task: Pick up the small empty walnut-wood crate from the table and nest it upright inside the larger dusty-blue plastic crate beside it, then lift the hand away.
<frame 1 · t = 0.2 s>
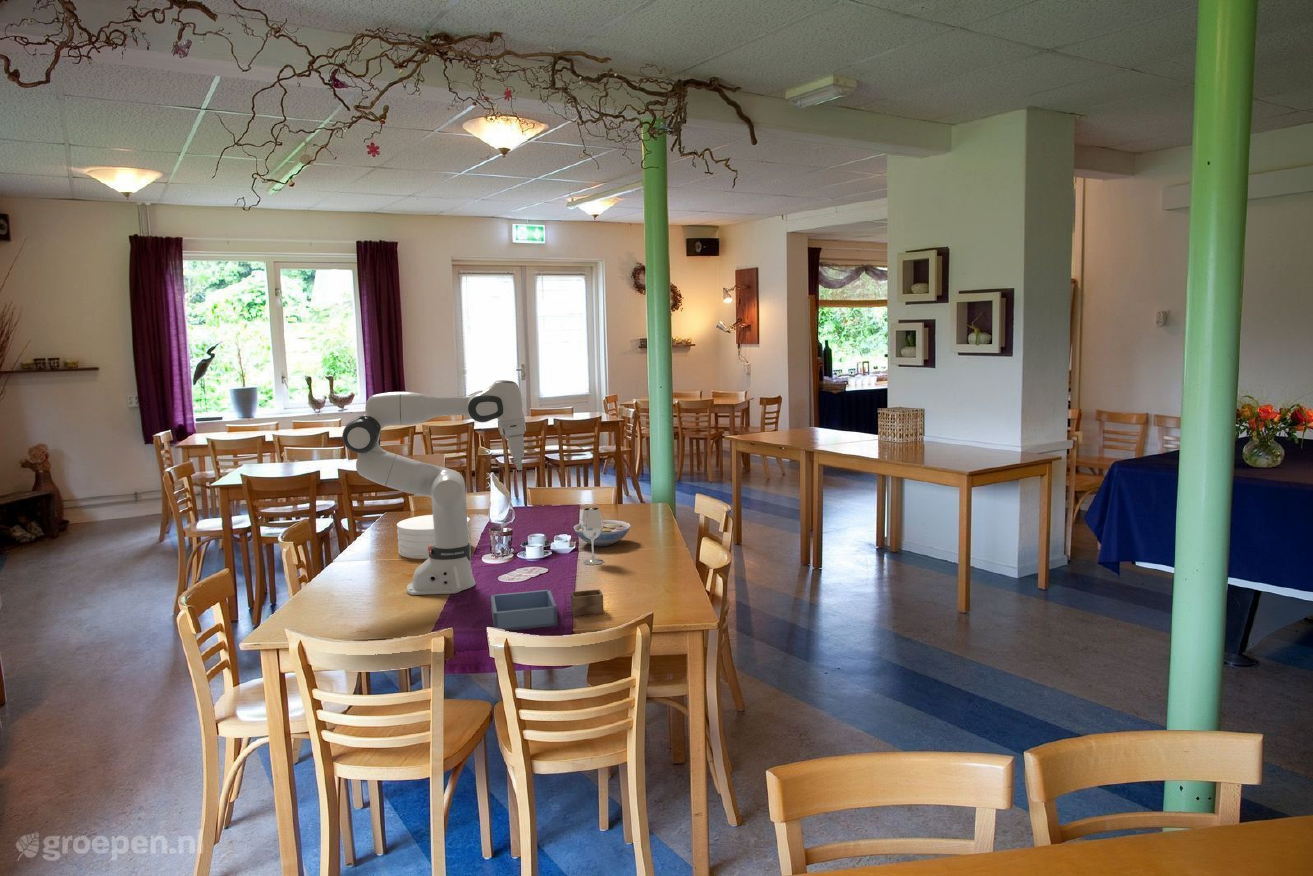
hand: (518, 467, 294), 39 cm above the table, tool pointing down, fingers open, 8 cm apart
plate stack: (435, 550, 346), on the table
walnut crate: (587, 612, 262), on the table
blue crate: (523, 619, 258), on the table
ramen bowl: (602, 544, 347), on the table
wineglass: (593, 562, 320), on the table
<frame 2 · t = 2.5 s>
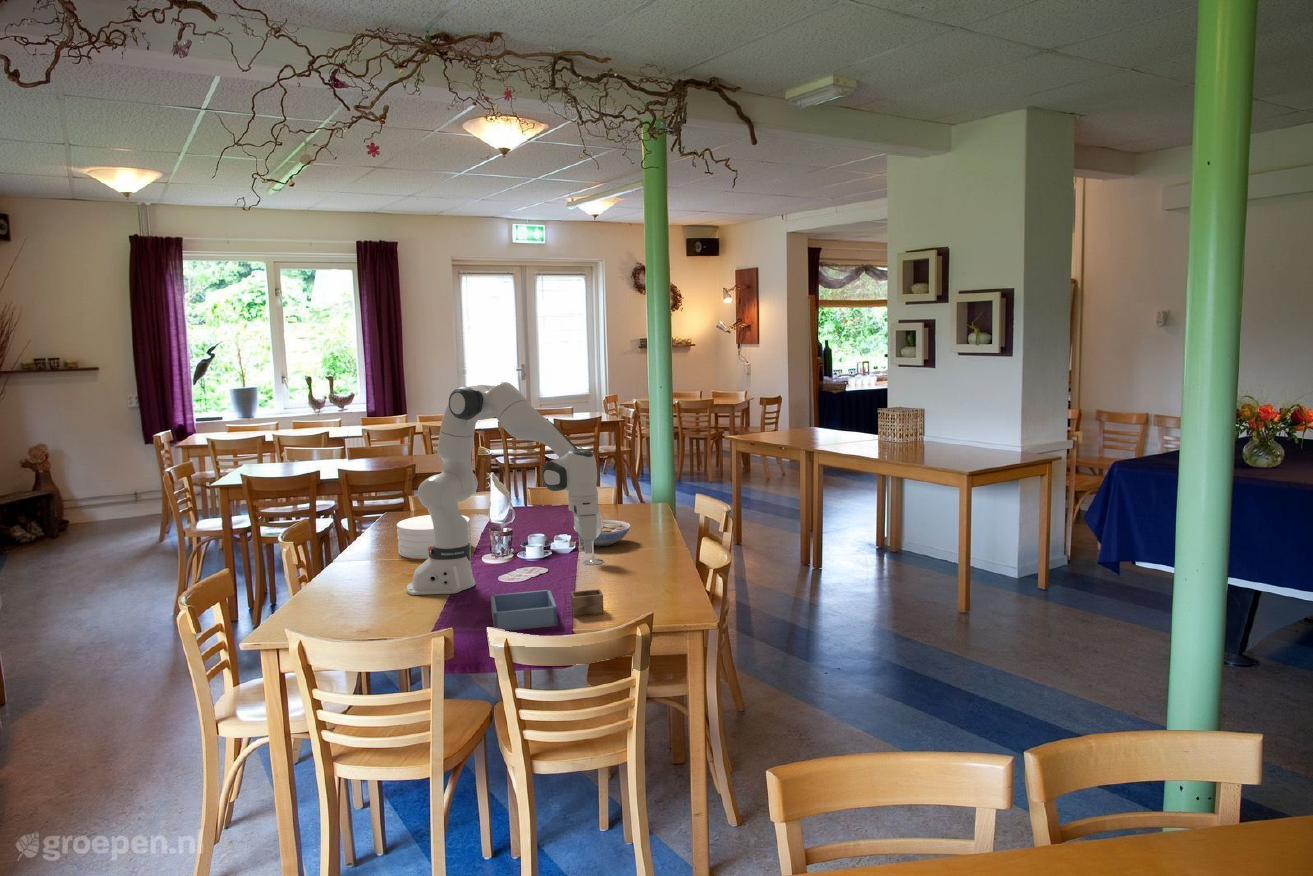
hand: (585, 549, 260), 20 cm above the table, tool pointing down, fingers open, 8 cm apart
nothing on the table moved.
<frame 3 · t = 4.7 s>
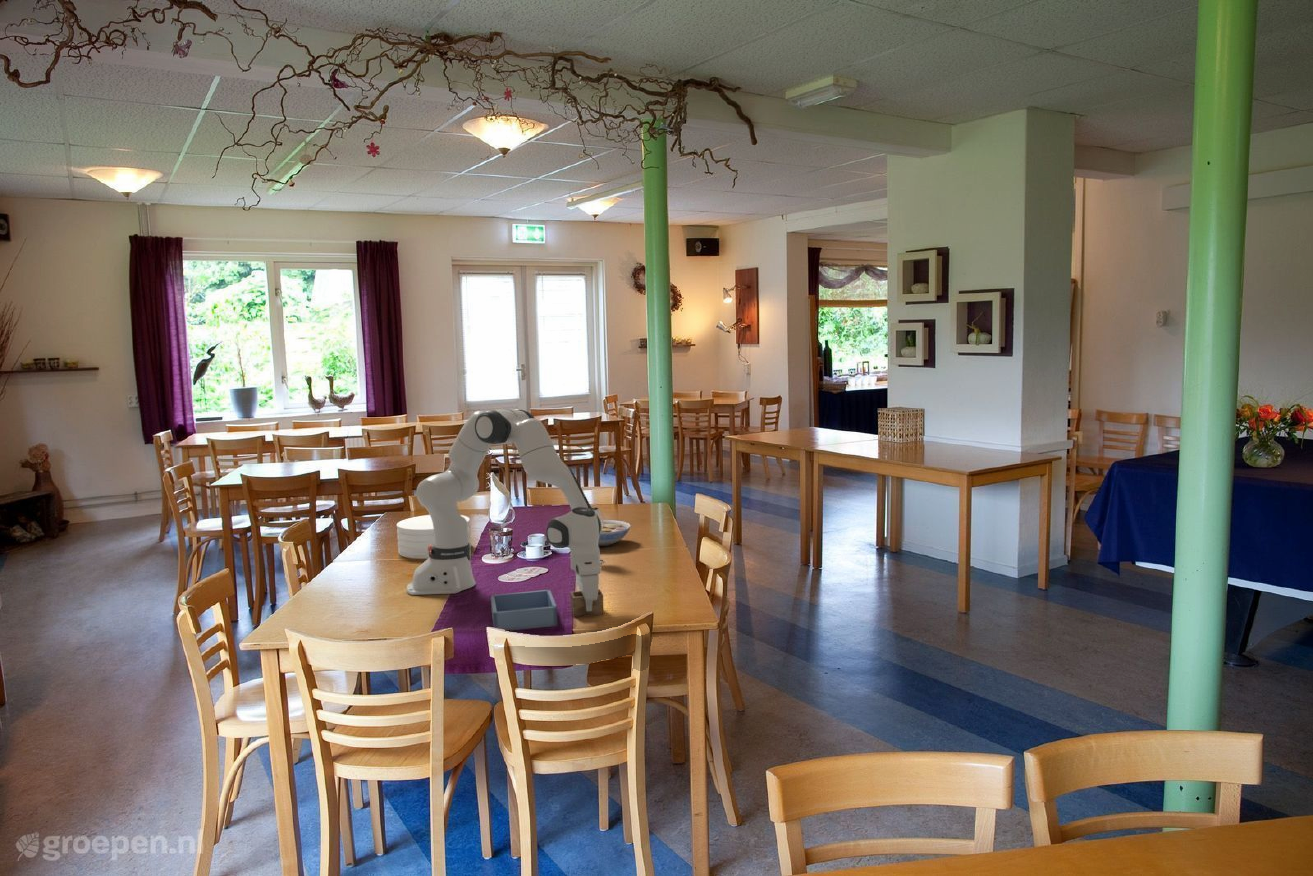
hand: (587, 606, 262), 2 cm above the table, tool pointing down, fingers closed on walnut crate, 6 cm apart
walnut crate: (587, 612, 262), on the table, touching gripper
everything else where it was.
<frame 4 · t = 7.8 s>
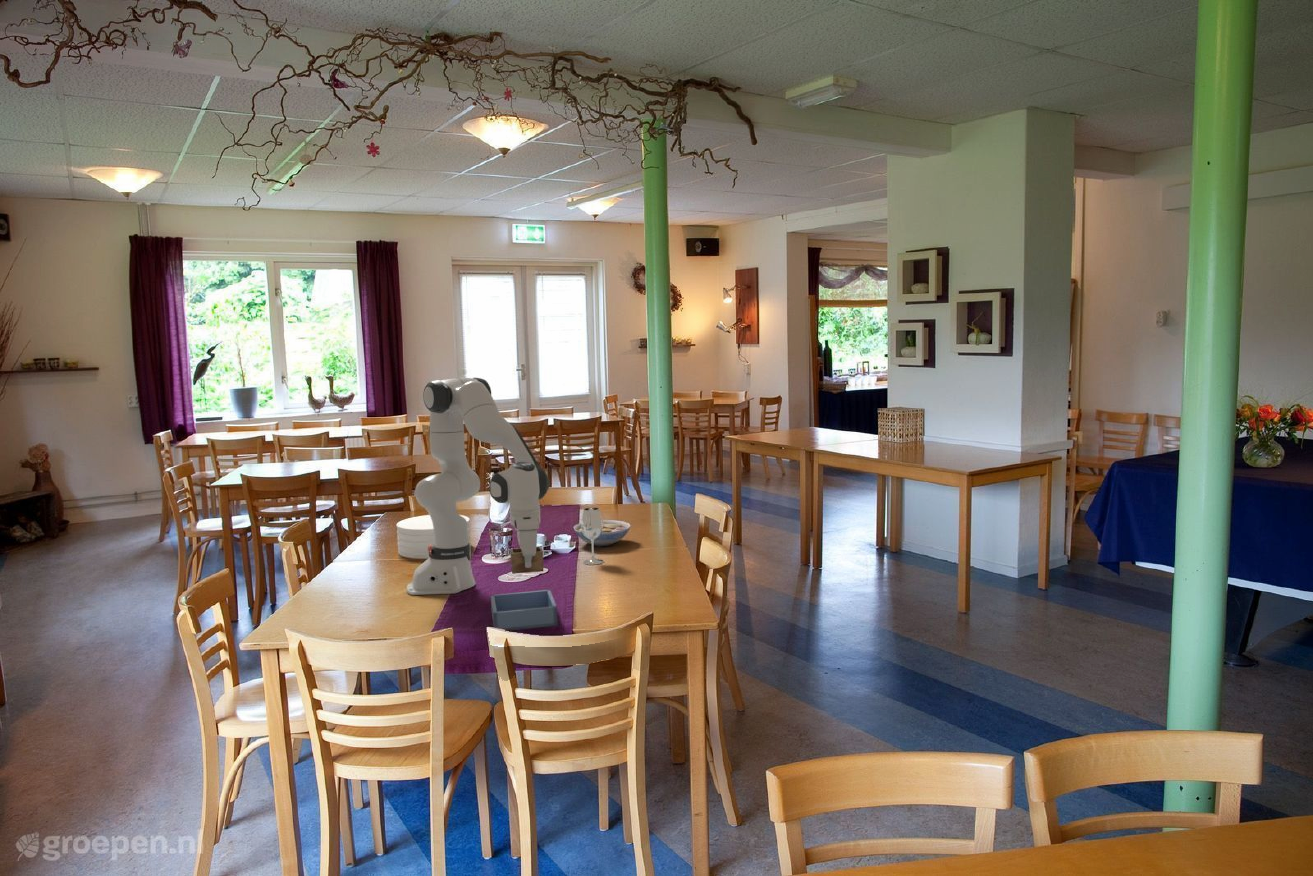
hand: (526, 563, 257), 17 cm above the table, tool pointing down, fingers closed on walnut crate, 6 cm apart
walnut crate: (527, 569, 257), point 15 cm above the table, touching gripper
everything else where it was.
when the fingers open (4 cm above the table, at t = 11.0 s): walnut crate drops 1 cm, resting on blue crate.
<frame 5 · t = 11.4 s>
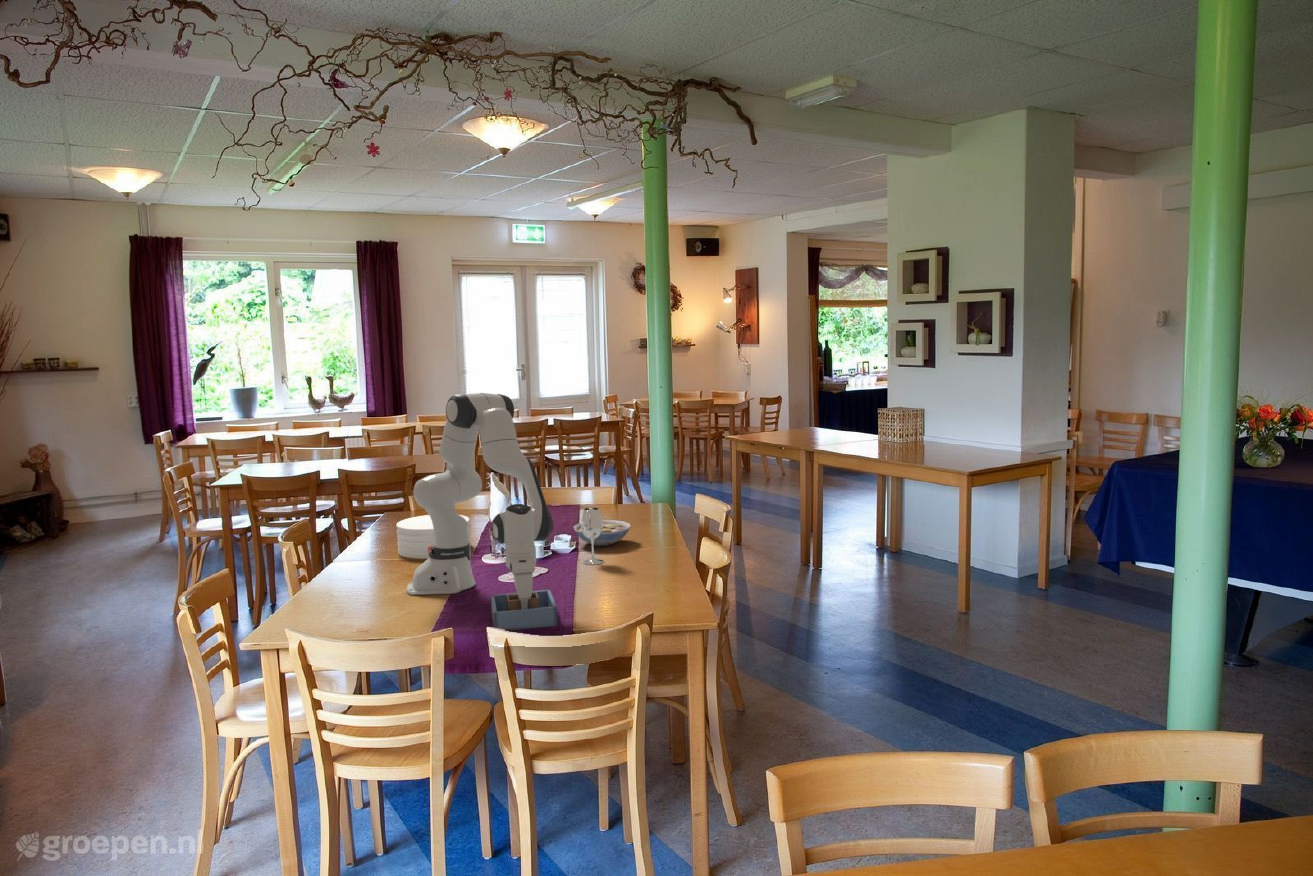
hand: (523, 605, 257), 4 cm above the table, tool pointing down, fingers open, 8 cm apart
walnut crate: (523, 616, 258), point 1 cm above the table, touching blue crate
everything else where it was.
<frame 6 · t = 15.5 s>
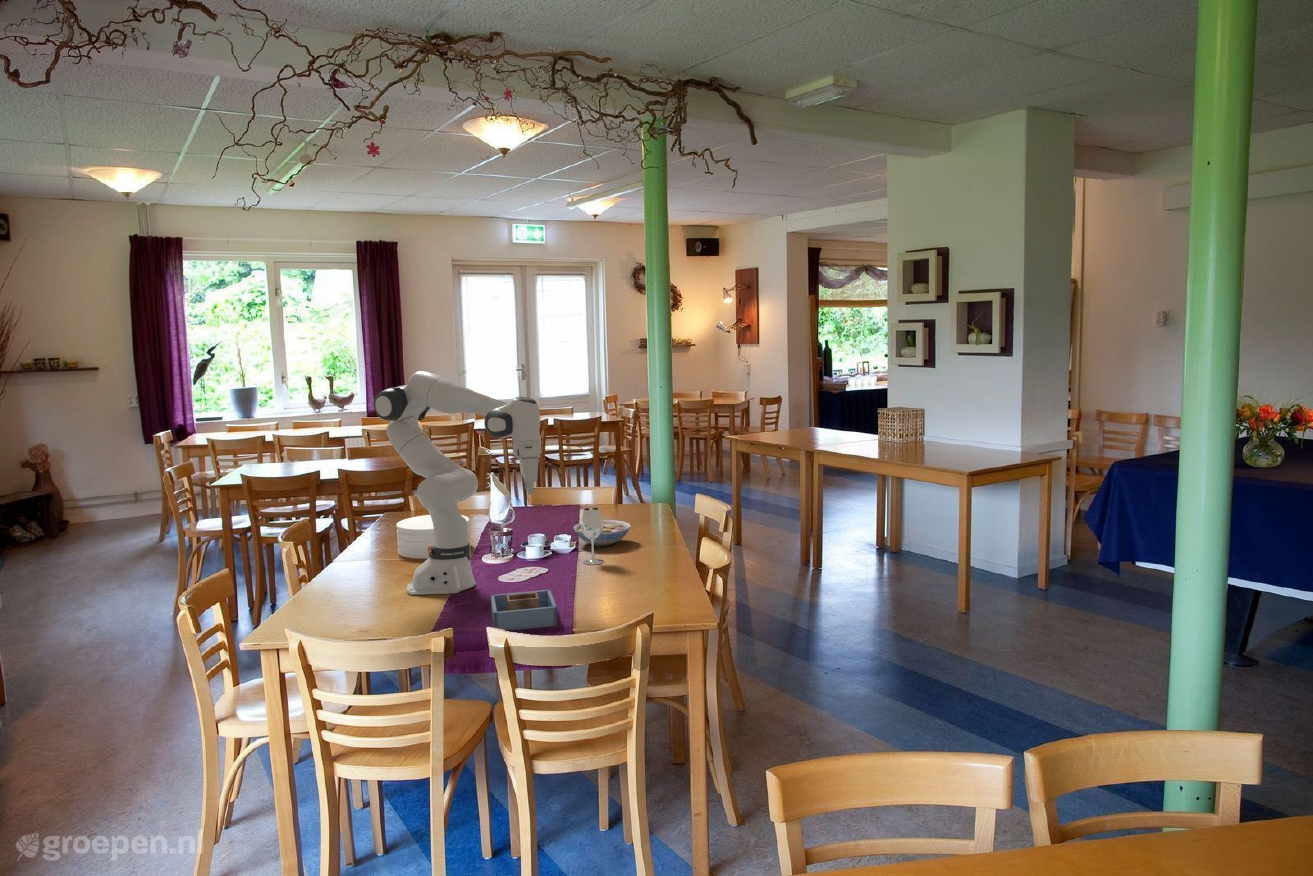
hand: (529, 491, 276), 34 cm above the table, tool pointing down, fingers open, 8 cm apart
nothing on the table moved.
at the end: walnut crate inside the target area on the blue crate (0.1 cm from its centre), point 0.8 cm above the blue crate's base; walnut crate tilted 0°; the gripper is holding nothing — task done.
